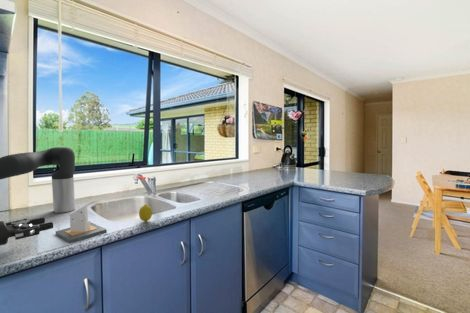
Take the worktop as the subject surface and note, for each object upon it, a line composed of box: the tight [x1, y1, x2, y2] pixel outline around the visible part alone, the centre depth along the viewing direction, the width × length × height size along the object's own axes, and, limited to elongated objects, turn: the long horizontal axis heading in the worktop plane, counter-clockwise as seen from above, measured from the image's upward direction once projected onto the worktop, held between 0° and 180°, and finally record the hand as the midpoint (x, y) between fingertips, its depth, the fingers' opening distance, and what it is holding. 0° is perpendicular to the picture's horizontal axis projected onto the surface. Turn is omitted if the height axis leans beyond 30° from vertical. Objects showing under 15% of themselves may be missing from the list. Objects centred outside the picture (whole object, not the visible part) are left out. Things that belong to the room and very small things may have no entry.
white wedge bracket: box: [69, 205, 92, 232], centre depth 96 cm, size 4×10×9 cm
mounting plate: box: [55, 221, 108, 244], centre depth 96 cm, size 14×13×1 cm
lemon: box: [138, 204, 153, 223], centre depth 109 cm, size 6×6×8 cm
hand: (48, 222), depth 87 cm, fingers open, 8 cm apart
